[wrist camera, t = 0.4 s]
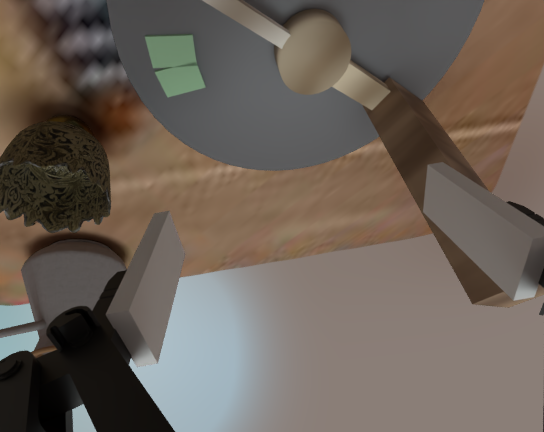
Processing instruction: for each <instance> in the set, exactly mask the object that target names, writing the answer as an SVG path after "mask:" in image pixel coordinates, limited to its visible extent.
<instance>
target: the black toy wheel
mask: <svg viewBox="0 0 544 432" xmlns="http://www.w3.org/2000/svg"><path fill="white" fill-rule="evenodd" d="M110 209H111V195H110V170H109V163H108V159H107V155H106V153H105V151H104V149H103V147H102V145H101V144H100V143H99V141H98V140H97V139H96V138H95V137H94V135H93V133H92V131H91V129H90V128H89V126H88V125H87V124H86V123H84V122H83V121H81V120H80V119H78V118H75V117H72V116H68V115H58V116H54V117H52V118H50V119H48V120H47V121H46V122H41V123H37V124H34V125H31V126H29V127H27V128H25V129H24V130H22V131H21V132H20V133H19V134H18V135H17V136H16V137H15V138H14V139H13V140H12V141H11V143H10V144H9V145H8V147H7V148H6V150H5V151H4V152H3V154H2V156H1V157H0V213H1V212H2V211H4V210H5V212H4V213H5V215H6V217H7V219H8V220H13V219H16V218H18V217H20V216H21V215H22V214H24V225H25V226H26V227H28V226H32V225H34V224H35V223H36V222H35V221H38V223H39V222H40V224H42V227H43V228H44V229H45V230H46V231H48V232H50V233H55V232H58V231H61V230H63V229H65V228H68V229H69V230H70V231H71V232H73V233H76V232H77V231H79V230H80V228H81V225H82V223H83V221H87V222H89V221H90V220H91V219H94V222H95V224H97V225H99V224H100V223H101V222H102V219H103V217H108V216H109V215H110ZM34 222H35V223H34Z"/></svg>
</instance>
